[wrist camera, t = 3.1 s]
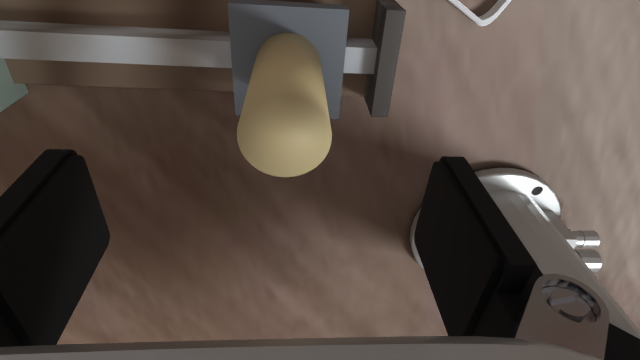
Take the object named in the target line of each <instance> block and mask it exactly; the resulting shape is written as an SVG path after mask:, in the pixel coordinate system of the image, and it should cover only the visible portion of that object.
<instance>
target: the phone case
mask: <svg viewBox="0 0 640 360" xmlns="http://www.w3.org/2000/svg"><path fill="white" fill-rule="evenodd" d="M448 1H449V2H450V3H452V4H453V5H454V6H455V7H456V8H458V9H459V10H460V11H461V12H462V13H464V14H465V15H466V16H467V17H468V18H470V19H471V20H472V21H473V22H475V23H476V24H478V25H479V26H486V25H488V24H489V23H491V22H492V21H493V20H495V19H496V18H497V17H498V15H499V14H500V13H501V12H502V11H503V10H504V9H505V7H506V6H507V5H508V4H509V3H510V1H511V0H498V1H497V2H496V3H495V5H494V6H493V7H492V8H491V9H490V10H489V11H488V12H487V13H485V14H484V15H482V16H479V17H477V16H476V15H475V14H474V13H472V12H471V11H470V10H469V9H468V8H467V7H465V6H464V5H463V4H462V3H461V2H459V1H458V0H448Z"/></svg>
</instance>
